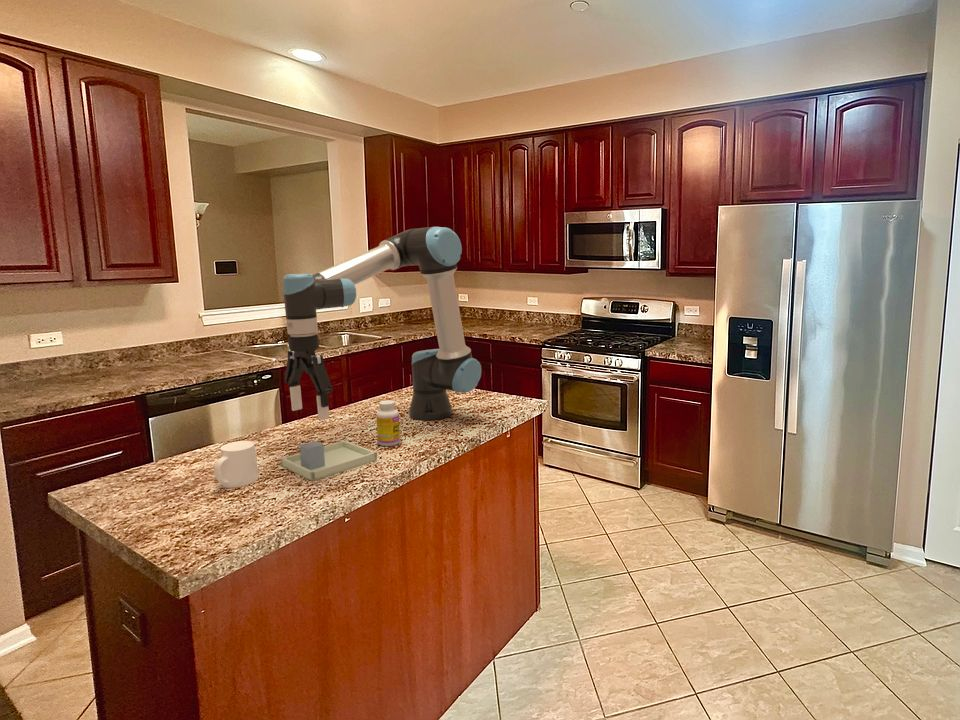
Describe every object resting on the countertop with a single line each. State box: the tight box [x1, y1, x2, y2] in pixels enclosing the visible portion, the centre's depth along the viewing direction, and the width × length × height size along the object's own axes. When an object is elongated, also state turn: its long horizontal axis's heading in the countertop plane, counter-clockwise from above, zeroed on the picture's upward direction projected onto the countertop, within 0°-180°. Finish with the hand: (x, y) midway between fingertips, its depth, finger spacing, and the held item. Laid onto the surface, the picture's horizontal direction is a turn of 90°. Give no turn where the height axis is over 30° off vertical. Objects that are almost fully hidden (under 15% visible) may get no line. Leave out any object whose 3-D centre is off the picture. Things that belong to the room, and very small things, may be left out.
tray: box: [280, 440, 378, 482], centre depth 157 cm, size 20×16×2 cm
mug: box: [213, 440, 260, 489], centre depth 145 cm, size 12×9×8 cm
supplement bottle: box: [375, 399, 401, 447], centre depth 172 cm, size 7×7×13 cm
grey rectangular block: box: [299, 440, 325, 470], centre depth 153 cm, size 4×4×6 cm
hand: (310, 414), depth 152 cm, fingers open, 13 cm apart
